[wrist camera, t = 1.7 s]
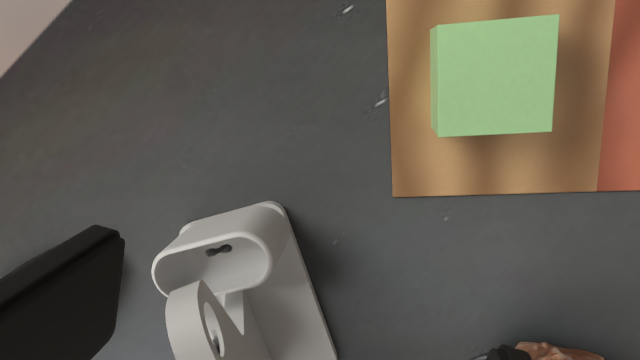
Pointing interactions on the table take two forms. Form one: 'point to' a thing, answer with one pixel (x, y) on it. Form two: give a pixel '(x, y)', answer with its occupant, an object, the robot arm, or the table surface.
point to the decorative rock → (555, 352)
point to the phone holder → (241, 290)
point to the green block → (493, 76)
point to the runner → (523, 148)
